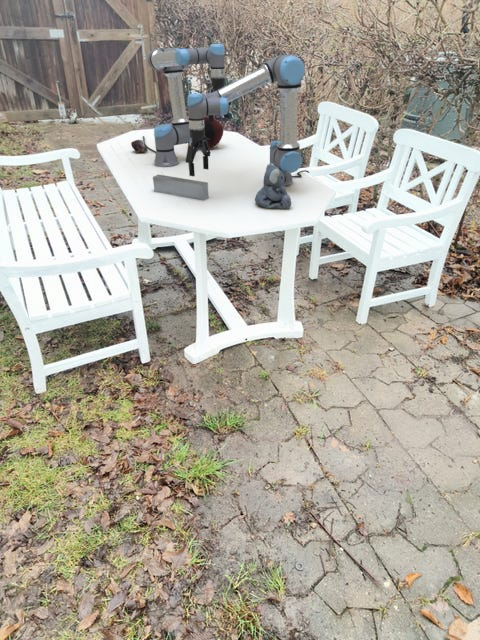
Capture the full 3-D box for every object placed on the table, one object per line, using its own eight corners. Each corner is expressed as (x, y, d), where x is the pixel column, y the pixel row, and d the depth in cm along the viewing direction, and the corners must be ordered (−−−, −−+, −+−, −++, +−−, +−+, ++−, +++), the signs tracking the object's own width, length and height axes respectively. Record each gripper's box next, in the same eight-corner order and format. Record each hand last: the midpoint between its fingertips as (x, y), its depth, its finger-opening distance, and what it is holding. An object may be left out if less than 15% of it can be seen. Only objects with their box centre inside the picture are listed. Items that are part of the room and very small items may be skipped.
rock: (144, 151, 325) (130, 152, 321) (142, 138, 322) (128, 139, 318) (149, 152, 316) (135, 153, 312) (147, 139, 312) (133, 140, 308)
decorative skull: (189, 122, 333) (186, 119, 309) (220, 115, 332) (219, 111, 309) (196, 152, 340) (193, 151, 316) (226, 145, 339) (226, 144, 315)
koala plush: (292, 209, 224) (294, 170, 213) (256, 210, 223) (257, 171, 212) (286, 197, 238) (288, 160, 227) (252, 199, 237) (253, 161, 226)
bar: (154, 191, 250) (152, 176, 245) (159, 188, 253) (158, 174, 249) (203, 200, 237) (202, 185, 233) (208, 197, 241) (207, 182, 236)
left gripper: (208, 80, 233) (209, 124, 246) (237, 75, 249) (237, 116, 262) (197, 79, 237) (199, 122, 249) (227, 74, 253) (227, 115, 265)
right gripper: (189, 134, 210) (192, 180, 222) (216, 124, 228) (217, 167, 240) (176, 133, 213) (179, 177, 225) (203, 123, 231) (205, 165, 243)
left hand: (219, 119), depth 256 cm, fingers open, 13 cm apart
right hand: (199, 172), depth 233 cm, fingers open, 13 cm apart
